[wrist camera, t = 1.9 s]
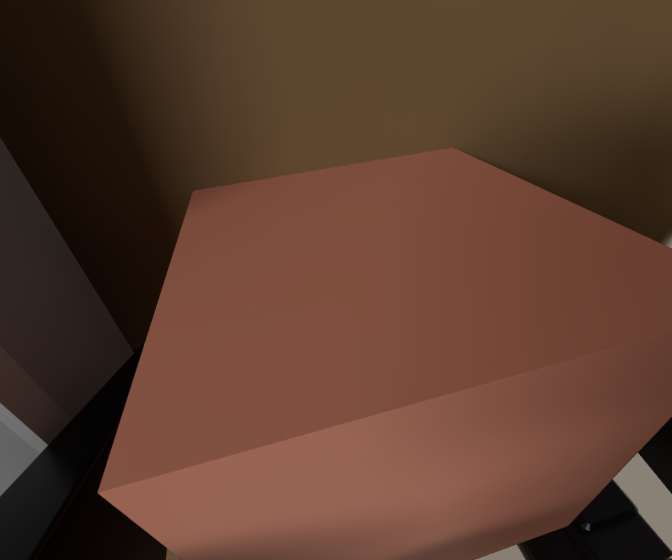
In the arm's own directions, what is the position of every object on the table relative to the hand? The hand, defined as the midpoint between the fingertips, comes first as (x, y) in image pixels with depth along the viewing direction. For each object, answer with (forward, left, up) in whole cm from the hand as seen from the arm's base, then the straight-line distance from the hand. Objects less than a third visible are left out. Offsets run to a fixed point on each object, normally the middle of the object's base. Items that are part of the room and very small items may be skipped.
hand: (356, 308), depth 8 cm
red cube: (0, 0, -2) cm, 2 cm away
